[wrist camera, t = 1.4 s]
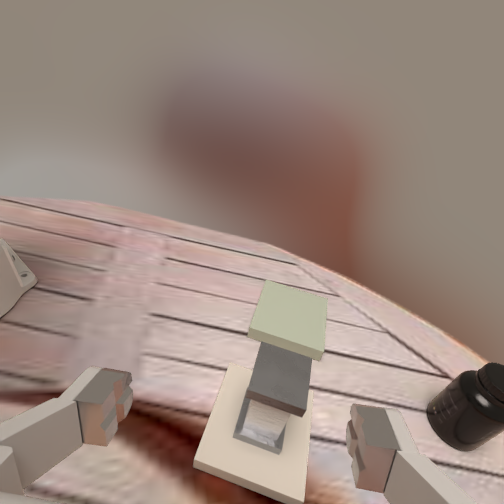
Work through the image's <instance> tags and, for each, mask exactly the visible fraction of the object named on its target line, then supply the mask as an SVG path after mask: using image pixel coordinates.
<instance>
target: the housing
mask: <svg viewBox="0 0 504 504" xmlns="http://www.w3.org/2000/svg"><path fill="white" fill-rule="evenodd" d="M311 364H312V358H310V357H307V356H304V355H301V354H298V353H295V352H292V351H289V350H286V349H283V348H280V347H277V346H274V345H271V344H268V343H265V342H261V345H260V348H259V351H258V355H257V358H256V362H255V365H254V369H253V372H252V376H251V379H250V383H249V386H248V387H247V390H246V393H245V396H244V400H243V403H242V407H241V410H240V414H239V417H238V420H237V424H236V427H235V431H234V434H233V438H235V439H238V440H240V441H243V442H246V443H248V444H251V445H254V446H256V447H259V448H262V449H264V450H267V451H270V452H272V453H275V454H278V455H279V454H280V453H281V451H282V447H283V441H284V434H285V428H286V423H287V421H288V419H289V417H290V415H291V414H293V415H296V416H299V417H301V418H302V417H303V415H304V414H305V412H306V410H307V401H308V392H309V382H310V373H311Z"/></svg>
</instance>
